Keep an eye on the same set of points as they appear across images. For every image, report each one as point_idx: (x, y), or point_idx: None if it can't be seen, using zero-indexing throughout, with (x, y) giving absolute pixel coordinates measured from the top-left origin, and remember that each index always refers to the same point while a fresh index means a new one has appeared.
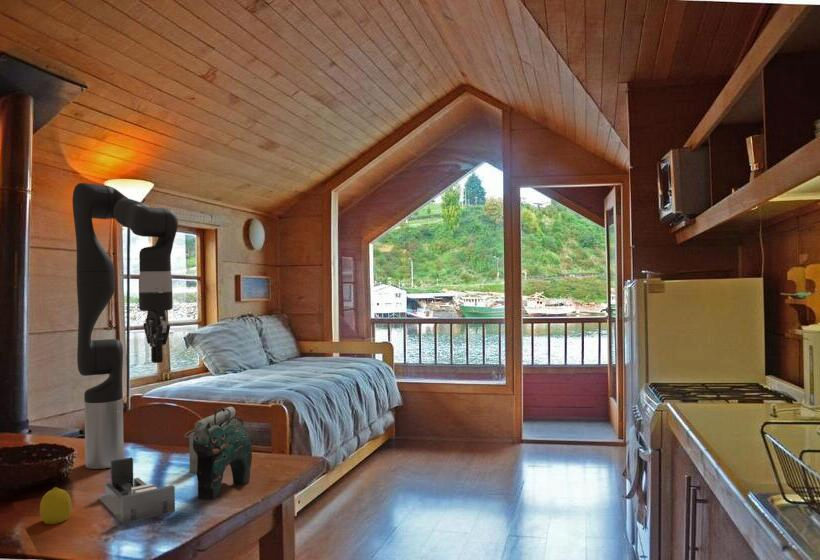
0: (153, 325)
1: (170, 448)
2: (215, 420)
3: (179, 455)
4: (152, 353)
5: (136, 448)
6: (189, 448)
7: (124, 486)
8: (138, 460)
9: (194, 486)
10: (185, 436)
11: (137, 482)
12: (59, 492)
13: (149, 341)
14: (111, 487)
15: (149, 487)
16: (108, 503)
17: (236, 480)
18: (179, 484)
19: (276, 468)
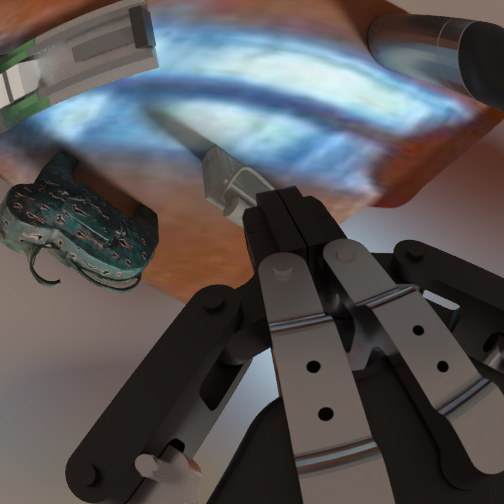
0: (295, 475)
1: (412, 153)
2: (33, 253)
3: (366, 154)
4: (283, 220)
5: (444, 112)
6: (220, 165)
7: (112, 35)
8: (383, 91)
9: (158, 146)
10: (243, 168)
11: (125, 56)
12: None
13: (396, 262)
14: (113, 15)
15: (7, 94)
16: (96, 15)
17: (137, 210)
18: (184, 124)
19: (194, 266)
